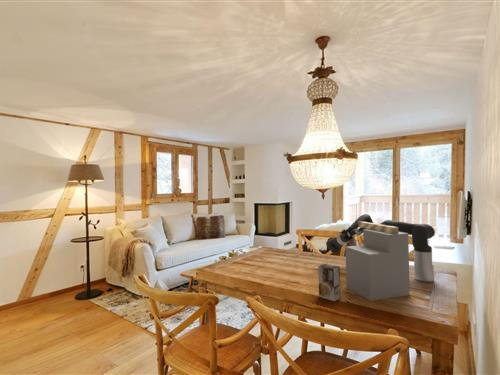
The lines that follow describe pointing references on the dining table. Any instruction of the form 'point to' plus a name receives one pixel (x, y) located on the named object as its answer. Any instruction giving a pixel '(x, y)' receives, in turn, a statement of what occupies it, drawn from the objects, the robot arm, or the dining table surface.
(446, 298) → the dining table surface
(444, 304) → the dining table surface
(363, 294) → the stepped plinth
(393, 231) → the birch bar
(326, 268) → the coffee box
